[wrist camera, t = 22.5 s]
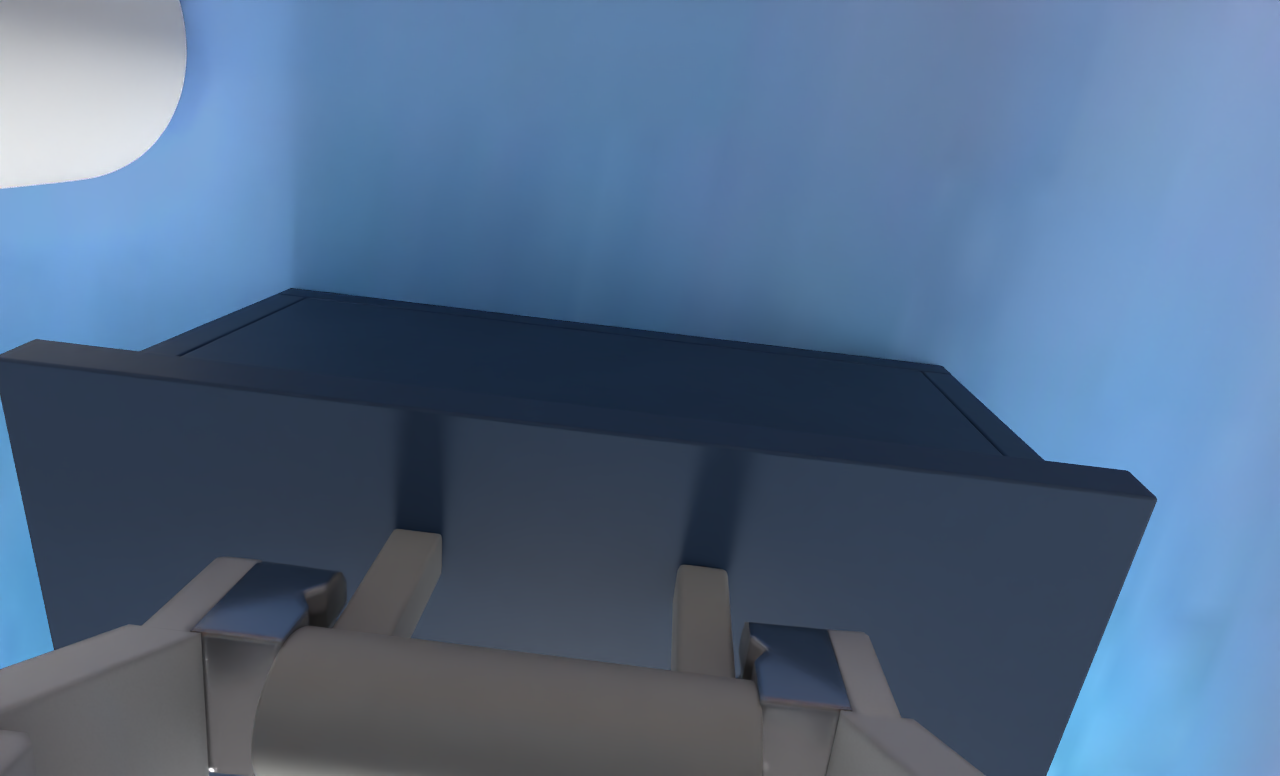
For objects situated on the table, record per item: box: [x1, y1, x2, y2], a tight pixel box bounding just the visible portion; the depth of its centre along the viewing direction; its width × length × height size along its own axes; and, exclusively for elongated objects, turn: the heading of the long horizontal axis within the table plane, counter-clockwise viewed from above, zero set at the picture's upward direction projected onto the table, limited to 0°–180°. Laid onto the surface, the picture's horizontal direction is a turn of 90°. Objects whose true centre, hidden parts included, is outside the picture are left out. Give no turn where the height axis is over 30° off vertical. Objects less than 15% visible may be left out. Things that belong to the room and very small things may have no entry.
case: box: [139, 288, 1045, 461], centre depth 18 cm, size 13×15×7 cm
